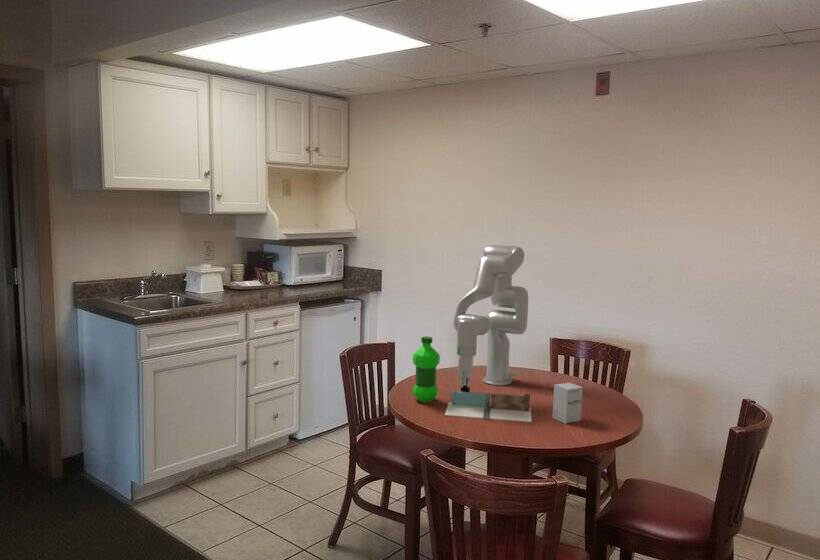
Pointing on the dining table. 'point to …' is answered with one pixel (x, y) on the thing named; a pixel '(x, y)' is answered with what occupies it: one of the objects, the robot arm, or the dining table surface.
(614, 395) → the dining table surface
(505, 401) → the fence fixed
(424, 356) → the plastic bottle
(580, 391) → the supplement box
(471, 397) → the teal bar
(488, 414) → the card
